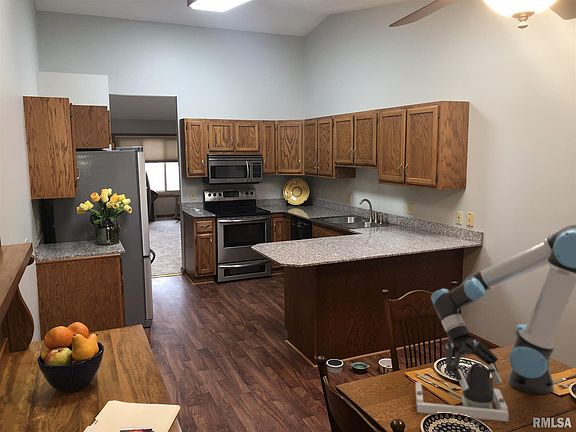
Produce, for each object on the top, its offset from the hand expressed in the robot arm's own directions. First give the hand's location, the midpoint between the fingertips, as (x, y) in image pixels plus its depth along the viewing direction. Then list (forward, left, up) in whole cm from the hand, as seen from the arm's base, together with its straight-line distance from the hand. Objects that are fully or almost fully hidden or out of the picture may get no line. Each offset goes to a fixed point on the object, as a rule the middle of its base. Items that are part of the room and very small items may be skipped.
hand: (482, 386), depth 158 cm
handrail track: (+7, -1, -9) cm, 11 cm away
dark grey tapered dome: (+1, -2, -8) cm, 9 cm away
